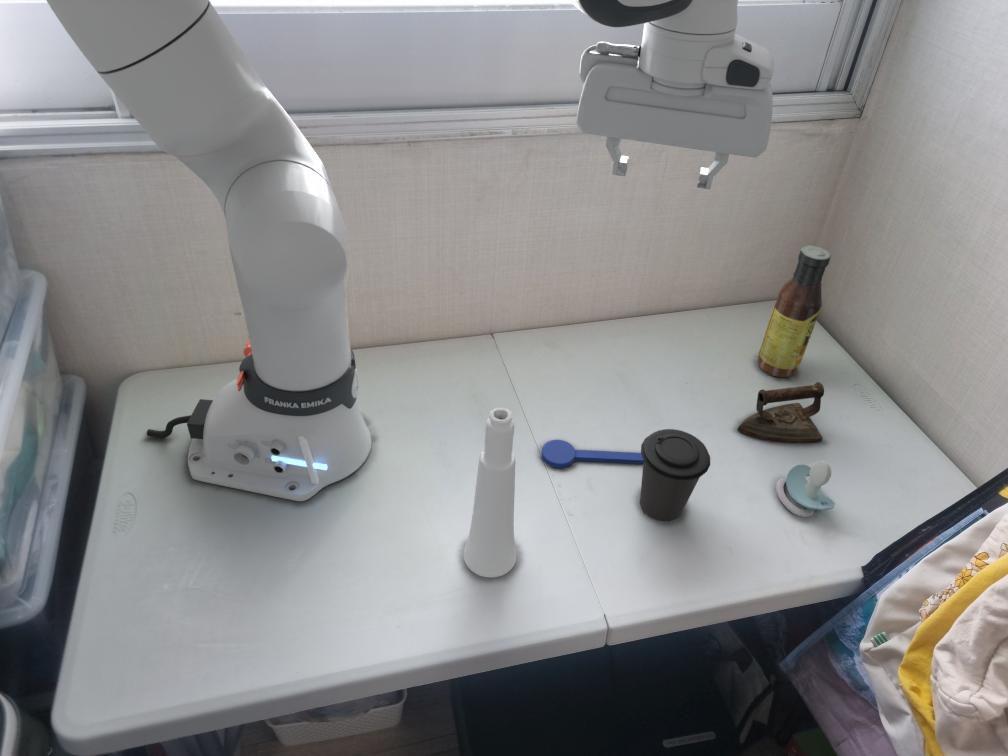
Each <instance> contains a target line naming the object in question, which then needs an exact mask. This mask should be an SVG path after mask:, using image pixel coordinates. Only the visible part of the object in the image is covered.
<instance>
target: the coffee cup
mask: <svg viewBox="0 0 1008 756" xmlns="http://www.w3.org/2000/svg"><path fill="white" fill-rule="evenodd" d="M640 447H641V448H640V453H641V454H642V457H643V460H644V462H643V464H642V476H641V485H640V495H639V496H640V497H639V505H640V507H641V509H642V511H643V513H645V514H646V515H647V516H648V517H650V518H652V519H655V520H656V521H661V522H671V521H674V520H677V519H678V518H679V517H680V516H682V514H683V511H684V509H685V507H686V505H687V503H688V502H689V499H690V498H691V495H692V494H693V491H694V489H695V487H696V485H697V484H698V482H699V480H700V478H701V477H702V476H703V475H705V474H706V473H707V472H708V470H709V468H710V466H711V455H710V453H709V450H708V448H707V447H706V445H705V444H704V443H703V442H702V441H701V439H699V438H698V437H696V436H694V435H693V434H691V433H689V432H686V431H683V430H680V429H674V428H666V429H659V430H657V431H654V432H652V433H650V434H649V435H648V436H646V437H645V438H644V440H643V441H642V443H641V446H640Z"/></svg>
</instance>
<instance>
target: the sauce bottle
mask: <svg viewBox="0 0 1008 756" xmlns="http://www.w3.org/2000/svg"><path fill="white" fill-rule="evenodd" d="M831 258H832V255H831V252H830V251H828V250H827V249H825V248H823V247H820V246H818V245H805V246H803V247H802V248H801V249H800V251H799V254H798V258H797V260H798V261H797V265H796V268H795V270H794V272H793V275H792V277H791V278H790V279H789V280H788V281H786V282H785V283H784V284H783V285H782V286H781V287H780V289H779V292H778V295H777V298H776V301H775V303H774V305H773V307H772V311H771V313H770V316H769V319H768V324H767V326H766V330H765V332H764V336H763V338H762V342H761V344H760V345H761V346H760V348H759V350H758V357H757V365H758V366H759V368H760V369H761V370H762V371H763V372H764V373H766V374H769V375H771V376H772V377H773V376H774V377H776V378H777V377H778V378H789V377H791V376H793V375H794V374H795V373H796V372H797V370H798V368H799V367H800V365H801V364H802V361H803V358H804V355H805V352H806V350H807V347H808V344H809V342H810V339H811V337H812V334H813V331H814V329H815V326H816V323H817V320H818V318H819V315H820V313H821V309H822V307H823V303H822V301H823V300H822V281H823V276H824V274H825V272H826V269H827V267H828V266H829V264H830V261H831Z"/></svg>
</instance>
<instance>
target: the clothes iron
mask: <svg viewBox="0 0 1008 756" xmlns="http://www.w3.org/2000/svg"><path fill="white" fill-rule="evenodd" d="M824 394H825V387H824V385H823V383H822V382H820V381H816V382H815V383H814V384H810V385H803V386H793V387H785V388H778V389H769V390H765V389H762V388H761V389H760V390H759V391H758V392H757V398H756V406H755V409H756V411H757V412H756V413H753V414H751V415H750V416H747V418H745V419H744V420H743V421H742V422H741V423H740V425H739V426H738V427H737V429H736V430H737V431H738V432H739V433H741V434H743V435H746V436H749V437H750V438H751V437H752V438H756V439H758V440H763V441H768V442H775V443H784V444H814V443H815V444H816V443H821V442H823V436H822V435H821V433H820V431H819V429H818V428H817V426H816V424H815V423H814V422H813V420H812V419H811V417H813V416H815V415H817V414H818V413H819V412H820V410H821V403H822V398H823V396H824ZM808 399H813V402H812V403H811V404H810V405H807V406H806V407H803V406H802V404H801V403H800V402H793V403H787V404H782V405H777V406H773V407H770V408H766V409H764V407H765V406H767V405H768V404H774V403H782V402H789V401H790V402H791V401H798V400H808Z"/></svg>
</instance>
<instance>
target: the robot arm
mask: <svg viewBox="0 0 1008 756" xmlns="http://www.w3.org/2000/svg"><path fill="white" fill-rule="evenodd" d="M45 1H46V3H47V4H48V6H49V8H50V9H51V10H52V12H53V14H54V15H55V17H56V18H57V19H58V21H59V23H60V24H61V25H62V27H63V28H64V30H65V32H66V33H67V34H68V36H69V37H70V38H71V40H72V41H73V43H74V44H75V45H76V46H77V48H78V50H79V51H80V52H81V53H82V54H83V56H84V57H85V58H86V60H87V61H88V63H90V65H91V66H92V67H93V69H94V70H95V72H96V73H97V74H98V75H99V76H100V78H102V80H103V81H104V82H105V83H106V85H107V86H108V87H109V88H110V89H111V91H112V92H113V93H114V95H115V96H116V97H117V98H118V99H119V100H120V102H121V103H122V104H123V105H124V107H125V108H126V109H127V110H128V112H129V113H130V115H132V117H133V118H134V119H135V120H136V122H137V123H138V124H139V125H140V126H141V128H142V129H143V131H145V133H146V134H147V135H148V136H149V138H150V139H151V140H152V141H153V143H155V145H156V147H158V148H159V149H160V150H161V151H163V152H164V153H166V154H168V155H171V156H173V157H175V158H176V159H178V160H179V161H180V162H181V163H182V164H183V165H184V166H186V167H187V168H188V169H189V170H190V171H192V173H194V174H195V175H196V176H197V177H198V178H199V179H200V180H201V181H202V182H203V183H204V185H206V186H207V187H208V188H209V190H210V191H211V192H212V194H213V195H214V197H215V198H216V199H217V201H218V203H219V206H220V208H221V210H222V213H223V215H224V218H225V224H226V234H227V241H228V249H229V252H230V253H229V254H230V257H231V262H232V267H233V272H234V276H235V281H236V284H237V289H238V294H239V299H240V302H241V307H242V311H243V314H244V321H245V324H246V330H247V334H248V341H246V343H245V348H244V349H243V351H242V353H243V355H244V357H245V358H243V360H241V363H240V365H239V367H238V370H239V374H238V376H237V378H235V379H233V380H231V381H229V382H228V383H226V384H225V385H223V387H222V388H221V389H220V390H219V391H218V392H217V393H216V395H215V397H214V398H213V399H204V398H203V399H202V398H200V399H199V400H198V402H197V404H196V405H195V408H194V409H193V411H192V413H191V414H189V415H184V416H178V417H176V418H173V419H171V420H170V421H168V422H167V424H166V426H165V429H164V430H156V429H149V428H148V429H147V431H146V436H147V437H154V438H158V439H159V438H160V439H163V438H168V437H169V436H170V435H172V433H173V431H174V427H176V426H179V425H182V424H186V426H187V430H188V434H189V438H190V439H191V442H190V445H189V449H188V453H187V465H188V471H189V474H190V477H191V478H192V480H194V481H197V482H202V483H207V484H212V485H216V486H222V487H226V488H232V489H237V490H242V491H246V492H250V493H256V494H260V495H266V496H270V497H276V498H279V499H285V500H288V501H289V500H290V501H295V502H306V501H307V500H309V499H311V498H313V497H314V496H315V495H316V494H318V493H319V492H320V491H321V490H322V489H323V488H325V487H327V486H329V485H331V484H334V483H337V482H339V481H342V480H343V479H346V478H347V477H349V476H351V474H353V473H355V472H356V471H357V470H359V468H360V467H361V466H362V465H363V464H364V463H365V462H366V460H367V458H368V457H369V455H370V452H371V450H372V443H373V441H372V435H371V432H370V430H369V427H368V426H367V424H366V422H365V419H364V417H363V414H362V411H361V408H360V407H361V406H360V403H359V399H358V395H359V375H358V367H357V363H356V358H355V354H354V351H353V349H352V348H351V340H350V327H349V316H348V305H347V304H348V303H347V298H348V285H349V284H348V283H349V243H348V231H347V226H346V223H345V221H344V218H343V215H342V212H341V209H340V206H339V204H338V200H337V198H336V195H335V193H334V190H333V186H332V184H331V182H330V179H329V175H328V173H327V170H326V167H325V165H324V163H323V161H322V160H321V158H320V157H319V156H318V154H317V153H316V151H315V150H314V148H313V147H312V145H311V144H310V143H309V141H308V140H307V138H306V137H305V136H304V134H303V132H302V131H301V130H300V129H299V127H298V126H297V124H296V123H295V122H294V121H293V119H292V118H291V116H290V115H289V114H288V112H287V111H286V110H285V109H284V107H283V106H282V104H281V103H280V102H279V101H278V99H276V97H275V96H274V95H273V93H272V92H271V91H270V90H269V88H268V87H267V85H266V84H265V83H264V82H263V80H262V79H261V77H260V76H259V74H258V73H257V71H256V69H255V68H254V66H253V65H252V63H251V62H250V60H249V59H248V58H247V56H246V55H245V53H244V51H243V50H242V48H241V47H240V45H239V44H238V43H237V41H236V39H235V38H234V36H233V35H232V33H231V31H230V30H229V28H228V27H227V25H226V24H225V22H224V21H223V20H222V18H221V15H220V14H219V13H218V12H217V10H216V9H215V8H214V6H213V4H212V3H211V0H45ZM568 1H569V3H571V4H572V5H573V6H574V7H575V8H577V10H579V11H580V12H582V13H583V14H584V15H585V16H586V17H587V18H589V19H590V20H592V21H593V22H595V23H598V24H600V25H603V26H606V27H610V28H626V27H632V26H637V25H642V24H643V32H642V37H641V38H642V39H641V45H632V44H616V43H611V42H607V41H599V42H597V43H596V44H594V45H591V46H588V47H587V48H586V49H585V50H584V51H583V53H582V54H581V57H580V64H579V77H580V79H581V82H582V83H583V86H582V90H581V95H580V97H579V102H578V107H577V111H576V119H575V124H576V126H577V128H578V129H579V131H580V132H581V133H582V134H586V135H593V136H598V137H599V136H600V137H606V142H605V146H606V147H605V148H606V149H607V151H608V154H609V155H610V158H611V161H612V162H613V164H612V172H611V175H612V176H617V177H618V176H620V177H626V175H627V171H628V164H629V160H630V159H629V158H630V156H627V155H623V154H622V152H621V150H620V143H621V141H622V140H628V141H635V142H642V143H649V144H655V145H663V146H670V147H678V148H685V149H690V150H692V149H693V150H699V151H703V152H710V153H711V152H712V153H714V159H713V160H714V161H713V162H712V163H711V164H710V165H709V167H703V166H702V167H700V169H699V175H698V179H697V184H696V188H697V189H703V190H704V189H705V190H711V187H712V183H713V179H714V177H715V176H717V174H718V173H719V172H720V171H721V170H722V169H723V168H724V167H725V166H726V165H727V164H728V160H729V156H730V155H732V156H738V157H739V156H740V157H747V158H752V159H753V158H754V159H755V158H758V157H759V156H761V155H762V154H763V153H765V152H766V151H767V148H768V145H769V140H770V134H771V128H772V122H773V109H774V97H773V87H772V83H771V81H772V78H773V75H774V71H775V62H774V57H773V54H772V52H771V51H770V50H769V49H768V48H766V47H764V46H762V45H760V44H758V43H755V42H753V41H751V40H749V39H747V38H745V37H744V36H741V35H740V34H737V33H736V30H737V26H738V2H739V0H568ZM594 50H595V51H594Z"/></svg>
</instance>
